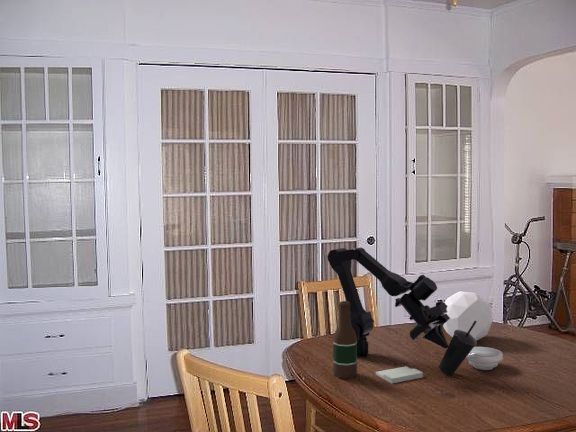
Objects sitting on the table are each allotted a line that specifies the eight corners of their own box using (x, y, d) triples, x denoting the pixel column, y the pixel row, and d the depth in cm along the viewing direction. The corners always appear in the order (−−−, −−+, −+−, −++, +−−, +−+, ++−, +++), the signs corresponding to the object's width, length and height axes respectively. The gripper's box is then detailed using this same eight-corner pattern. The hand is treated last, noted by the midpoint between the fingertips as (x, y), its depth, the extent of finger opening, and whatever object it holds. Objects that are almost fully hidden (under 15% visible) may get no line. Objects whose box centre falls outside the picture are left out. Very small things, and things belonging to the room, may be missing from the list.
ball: (463, 353, 224) (472, 307, 233) (499, 348, 207) (508, 299, 215) (424, 333, 220) (435, 288, 228) (458, 326, 202) (469, 277, 211)
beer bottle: (331, 371, 186) (330, 299, 184) (354, 370, 187) (354, 298, 185) (335, 379, 178) (334, 305, 177) (359, 378, 179) (359, 304, 177)
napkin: (391, 383, 174) (391, 378, 174) (375, 374, 182) (375, 369, 182) (423, 377, 179) (423, 372, 179) (406, 368, 187) (406, 364, 187)
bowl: (473, 373, 181) (473, 358, 181) (459, 361, 193) (459, 346, 193) (509, 372, 182) (509, 356, 182) (492, 360, 194) (493, 345, 194)
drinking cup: (457, 382, 178) (488, 332, 171) (434, 371, 178) (464, 321, 172) (456, 369, 185) (486, 321, 178) (434, 359, 186) (463, 310, 179)
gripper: (417, 299, 176) (451, 339, 170) (444, 289, 190) (476, 326, 184) (395, 320, 182) (427, 360, 175) (423, 309, 196) (453, 346, 189)
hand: (447, 347), depth 181 cm, fingers closed
